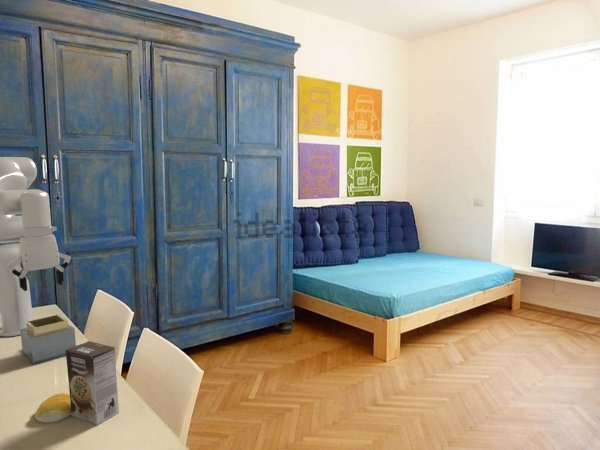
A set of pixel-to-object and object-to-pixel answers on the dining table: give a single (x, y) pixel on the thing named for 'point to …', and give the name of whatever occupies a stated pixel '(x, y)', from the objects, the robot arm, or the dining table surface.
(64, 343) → the box
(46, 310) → the dining table surface
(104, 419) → the coffee box
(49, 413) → the bread roll
